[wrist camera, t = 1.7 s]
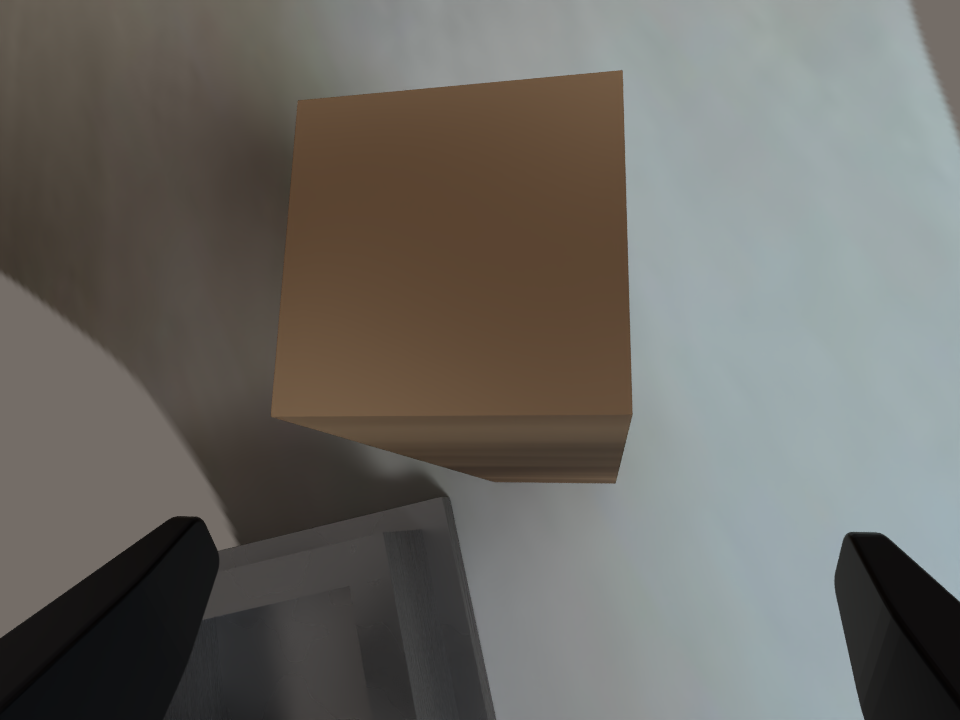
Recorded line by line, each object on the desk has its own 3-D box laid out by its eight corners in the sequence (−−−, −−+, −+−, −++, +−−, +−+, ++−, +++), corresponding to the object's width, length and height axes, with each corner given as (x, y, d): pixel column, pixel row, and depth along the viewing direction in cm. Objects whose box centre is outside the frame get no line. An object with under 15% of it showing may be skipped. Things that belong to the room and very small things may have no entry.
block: (615, 483, 20) (632, 414, 6) (494, 481, 20) (271, 416, 7) (612, 363, 20) (621, 69, 7) (496, 365, 21) (298, 100, 8)
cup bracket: (520, 836, 18) (493, 938, 14) (208, 892, 19) (93, 1002, 15) (449, 497, 20) (407, 492, 16) (174, 564, 21) (65, 576, 17)
